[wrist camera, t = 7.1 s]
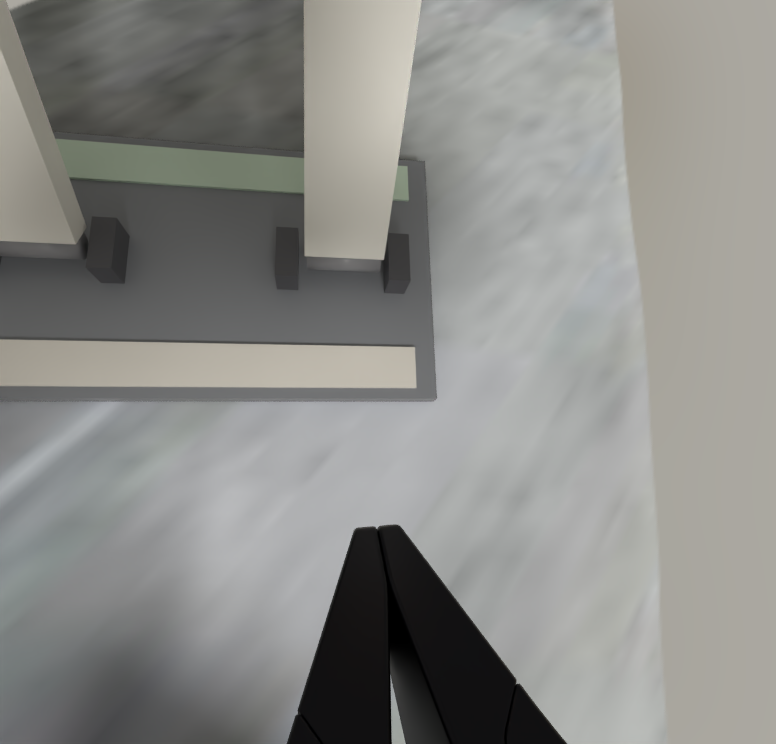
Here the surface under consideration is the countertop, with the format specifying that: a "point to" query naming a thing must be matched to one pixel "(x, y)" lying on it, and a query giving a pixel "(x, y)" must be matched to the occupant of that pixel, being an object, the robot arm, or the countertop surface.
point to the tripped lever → (353, 125)
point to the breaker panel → (213, 287)
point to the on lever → (32, 166)
